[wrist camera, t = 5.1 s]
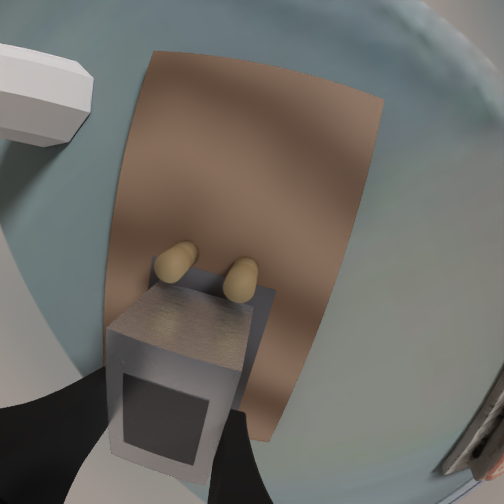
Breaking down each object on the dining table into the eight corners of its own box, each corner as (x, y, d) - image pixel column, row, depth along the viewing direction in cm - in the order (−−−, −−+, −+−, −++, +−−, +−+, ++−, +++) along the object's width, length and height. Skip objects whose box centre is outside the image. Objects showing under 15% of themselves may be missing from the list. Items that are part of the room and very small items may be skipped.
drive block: (222, 415, 15) (205, 486, 10) (146, 392, 15) (110, 453, 10) (254, 306, 13) (241, 372, 8) (159, 280, 13) (105, 328, 8)
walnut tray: (269, 431, 17) (266, 471, 14) (110, 383, 18) (87, 415, 14) (377, 104, 12) (405, 85, 9) (161, 57, 13) (132, 31, 9)
